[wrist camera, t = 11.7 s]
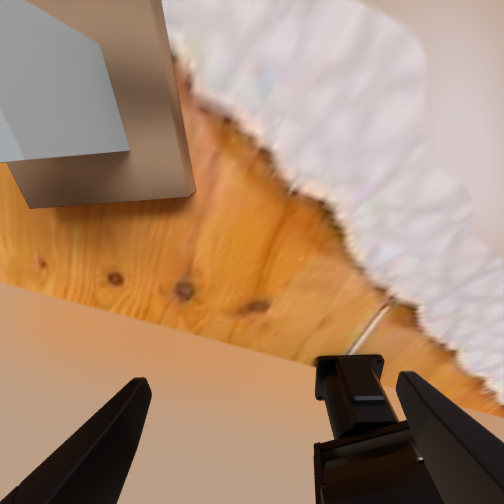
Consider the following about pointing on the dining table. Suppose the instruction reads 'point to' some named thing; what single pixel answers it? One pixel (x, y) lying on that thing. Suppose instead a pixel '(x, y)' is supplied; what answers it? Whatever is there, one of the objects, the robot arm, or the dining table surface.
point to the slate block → (53, 89)
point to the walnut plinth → (131, 112)
